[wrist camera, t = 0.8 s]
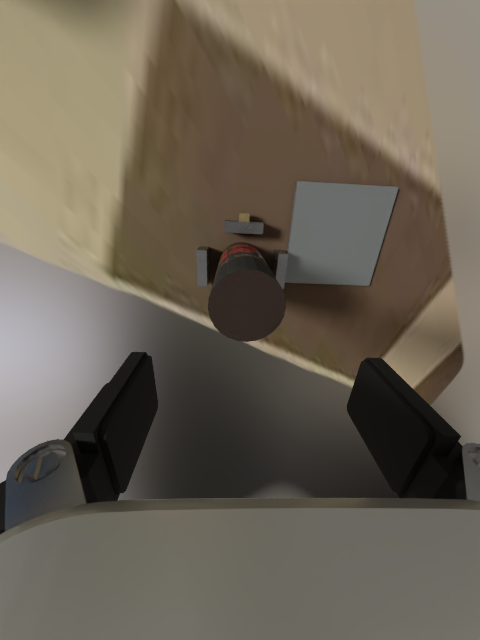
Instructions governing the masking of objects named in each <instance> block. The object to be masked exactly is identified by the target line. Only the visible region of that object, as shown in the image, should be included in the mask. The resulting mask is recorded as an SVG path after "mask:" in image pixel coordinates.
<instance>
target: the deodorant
mask: <svg viewBox="0 0 480 640" xmlns="http://www.w3.org/2000/svg"><path fill="white" fill-rule="evenodd" d="M285 309H286V300H285V295H284V292H283V290H282V288H281V286H280V284H279V283H278V281H277V280H276V278H275V276H274V275H273V273H272V271H271V270H270V268H269V267H268V265H267V263H266V262H265V260H264V258H263V257H262V255H261V254H260V252H259V251H258V249H257V248H255V247H254V246H253V245H251V244H248V243H243V242H239V243H234V244H232V245H230V246H229V247H227V248H226V249H225V250H224V252H223V253H222V255H221V258H220V261H219V264H218V268H217V271H216V275H215V279H214V282H213V286H212V289H211V293H210V296H209V302H208V311H209V315H210V319H211V321H212V322H213V324H214V326H215V327H216V328H217V329H218V330H219V331H220V333H222V334H223V335H225V336H227V337H228V338H231V339H234V340H237V341H246V342H248V341H255V340H259V339H261V338H264V337H266V336H267V335H269V334H270V333H272V332H273V331H274V330H275V329H276V328H277V327H278V326H279V325H280V323H281V321H282V319H283V317H284V313H285Z"/></svg>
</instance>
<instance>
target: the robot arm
mask: <svg viewBox="0 0 480 640" xmlns="http://www.w3.org/2000/svg"><path fill="white" fill-rule="evenodd" d="M157 408H158V400H157V393H156V385H155V378H154V371H153V364H152V357H151V356H148V355H147V353H146V352H132V353H131V354H130V355H129V356H128V358H127V359H126V360H125V362H124V363H123V365H122V366H121V367H120V369H119V370H118V371H117V373H116V374H115V375H114V377H113V378H112V380H111V381H110V382H109V383H107V384H106V385H105V386H104V387H103V388H102V389H101V391H100V392H99V393H98V394H97V396H96V397H95V398H94V400H93V401H92V403H91V404H90V405H89V407H88V408H87V409H86V411H85V412H84V413H83V414H82V416H81V417H80V418H79V420H78V421H77V423H76V424H75V425H74V426H73V428H72V429H71V431H70V432H69V433H68V434H67V436H66V437H65V439H64V440H59V439H57V440H51V441H47V442H44V443H41V444H39V445H37V446H35V447H33V448H31V449H30V450H28V451H27V452H26V453H24V454H23V455H22V456H21V457H19V458H18V459H17V461H16V462H15V463H14V464H13V465H12V466H11V468H10V470H9V471H8V474H7V478H6V480H5V481H4V482H2V483H0V640H480V444H476V443H466V444H465V445H463V446H462V445H461V444H460V443H459V442H458V440H459V439H460V437H461V436H460V435H459V434H458V433H457V432H456V431H455V430H454V429H453V428H452V427H451V426H450V425H449V424H448V423H447V422H446V421H445V420H444V419H443V418H442V417H441V416H440V415H439V414H438V413H437V412H436V411H435V410H434V409H433V408H432V407H431V406H430V405H429V404H428V403H427V402H426V401H425V400H424V399H423V398H422V397H421V396H419V395H418V394H417V393H416V392H415V391H414V390H413V389H412V388H411V387H410V386H409V385H408V384H407V383H406V382H405V381H404V380H403V379H402V378H401V377H400V376H399V375H398V374H397V373H396V372H395V371H394V370H393V369H392V368H391V367H390V366H389V365H388V364H387V363H386V362H385V361H384V360H383V359H381V358H366V359H365V360H364V361H362V362H361V364H360V367H359V370H358V373H357V376H356V379H355V382H354V385H353V388H352V392H351V395H350V398H349V401H348V404H347V411H348V414H349V416H350V417H351V419H352V421H353V423H354V424H355V426H356V428H357V430H358V431H359V433H360V435H361V437H362V438H363V440H364V442H365V444H366V446H367V447H368V449H369V451H370V452H371V454H372V456H373V458H374V459H375V461H376V463H377V465H378V466H379V468H380V470H381V471H382V473H383V475H384V477H385V479H386V480H387V482H388V484H389V486H390V487H391V489H392V490H393V491H394V492H396V493H397V494H398V496H399V497H400V498H233V499H232V498H230V499H227V498H226V499H153V500H120V501H117V500H118V497H119V494H120V493H124V492H125V491H126V489H127V486H128V484H129V481H130V479H131V476H132V473H133V471H134V468H135V466H136V463H137V461H138V458H139V456H140V453H141V450H142V448H143V445H144V443H145V440H146V437H147V435H148V432H149V430H150V427H151V425H152V422H153V419H154V417H155V414H156V412H157Z"/></svg>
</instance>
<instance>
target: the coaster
mask: <svg viewBox="0 0 480 640" xmlns="http://www.w3.org/2000/svg"><path fill="white" fill-rule="evenodd" d="M398 188H399V187H389V186H372V185H355V184H337V183H320V182H302V181H297V182H296V189H295V196H294V204H293V212H292V219H291V227H290V235H289V242H288V250H287V253H288V254H289V255H288V262H287V270H286V277H285V283H307V284H334V285H360V286H369V285H370V282H371V278H372V275H373V272H374V268H375V265H376V262H377V258H378V255H379V252H380V248H381V245H382V242H383V238H384V235H385V232H386V228H387V225H388V222H389V218H390V215H391V212H392V208H393V205H394V202H395V198H396V195H397V192H398Z"/></svg>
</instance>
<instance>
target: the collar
mask: <svg viewBox="0 0 480 640" xmlns="http://www.w3.org/2000/svg"><path fill="white" fill-rule="evenodd" d="M249 218H250V213H239V221H233V220H225V233H245V234H263V226H264V223H262V222H253V221H249ZM196 252H197V281H198V286H208V283H209V247H199V248H198V249H197V250H196ZM288 255H289V254H288V253H286V252H285V251H284V250H275V251H274V260H273V270H272V273H273V275H274V276H275V278H276V280H277V281H278V283H279V284H280V286H281V288H282V289H284V285H285V277H286V270H287V262H288Z"/></svg>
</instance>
